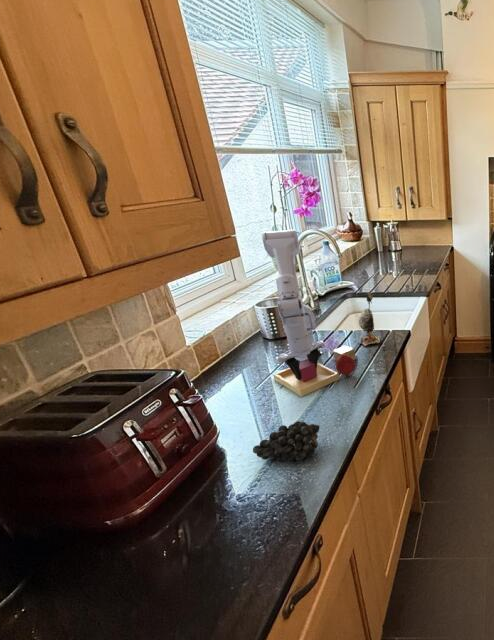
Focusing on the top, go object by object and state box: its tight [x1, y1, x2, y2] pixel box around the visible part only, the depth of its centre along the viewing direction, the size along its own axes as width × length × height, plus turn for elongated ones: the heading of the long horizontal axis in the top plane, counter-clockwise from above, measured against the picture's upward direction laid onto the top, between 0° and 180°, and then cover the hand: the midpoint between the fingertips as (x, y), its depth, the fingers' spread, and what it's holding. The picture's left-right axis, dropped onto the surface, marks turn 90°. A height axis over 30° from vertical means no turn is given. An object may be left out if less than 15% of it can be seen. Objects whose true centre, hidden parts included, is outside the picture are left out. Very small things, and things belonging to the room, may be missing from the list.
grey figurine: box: [358, 291, 381, 347], centre depth 150 cm, size 8×11×20 cm
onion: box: [335, 353, 356, 377], centre depth 127 cm, size 6×6×8 cm
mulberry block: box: [299, 359, 317, 382], centre depth 126 cm, size 4×4×4 cm
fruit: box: [252, 420, 320, 462], centre depth 92 cm, size 9×8×15 cm
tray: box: [273, 359, 341, 397], centre depth 127 cm, size 17×13×2 cm
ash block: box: [332, 345, 357, 362], centre depth 138 cm, size 5×5×4 cm
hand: (306, 375), depth 126 cm, fingers closed on mulberry block, 4 cm apart
